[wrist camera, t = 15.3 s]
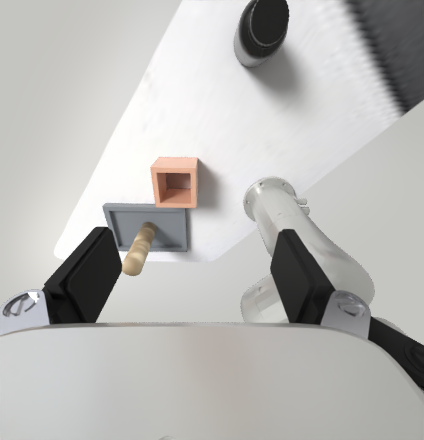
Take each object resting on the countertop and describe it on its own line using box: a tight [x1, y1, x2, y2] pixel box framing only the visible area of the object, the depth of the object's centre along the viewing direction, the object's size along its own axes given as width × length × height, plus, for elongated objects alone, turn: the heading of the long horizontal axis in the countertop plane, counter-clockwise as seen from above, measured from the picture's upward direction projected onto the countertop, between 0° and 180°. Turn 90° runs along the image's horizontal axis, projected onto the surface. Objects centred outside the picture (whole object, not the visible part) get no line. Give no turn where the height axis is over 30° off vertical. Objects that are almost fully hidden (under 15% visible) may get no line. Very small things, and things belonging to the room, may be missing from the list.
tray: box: [102, 203, 187, 252], centre depth 53 cm, size 20×14×2 cm
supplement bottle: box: [234, 0, 289, 67], centre depth 29 cm, size 7×7×12 cm
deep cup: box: [150, 157, 198, 208], centre depth 43 cm, size 8×8×8 cm
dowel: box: [122, 222, 157, 276], centre depth 47 cm, size 4×4×15 cm
